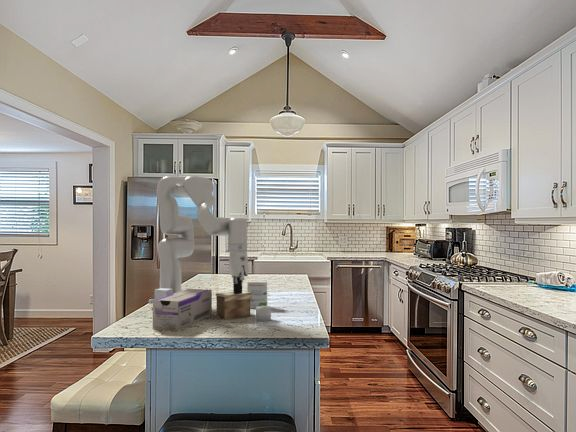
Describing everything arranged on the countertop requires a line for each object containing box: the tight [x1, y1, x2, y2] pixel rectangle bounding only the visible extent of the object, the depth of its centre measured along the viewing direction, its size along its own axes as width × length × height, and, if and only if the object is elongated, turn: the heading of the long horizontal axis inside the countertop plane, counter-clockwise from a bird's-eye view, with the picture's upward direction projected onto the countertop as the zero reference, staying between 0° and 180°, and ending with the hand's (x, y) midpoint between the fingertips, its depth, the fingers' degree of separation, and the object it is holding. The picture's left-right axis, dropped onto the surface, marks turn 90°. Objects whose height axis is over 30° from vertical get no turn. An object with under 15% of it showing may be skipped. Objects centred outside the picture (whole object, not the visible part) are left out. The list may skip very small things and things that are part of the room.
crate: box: [216, 296, 251, 321], centre depth 159 cm, size 11×10×8 cm
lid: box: [215, 290, 252, 301], centre depth 159 cm, size 12×11×2 cm
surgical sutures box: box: [152, 288, 213, 332], centre depth 149 cm, size 25×11×11 cm, turn 164°
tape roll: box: [255, 305, 272, 323], centre depth 152 cm, size 6×6×5 cm
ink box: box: [246, 280, 268, 309], centre depth 175 cm, size 9×5×12 cm, turn 83°
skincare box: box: [153, 287, 173, 299], centre depth 153 cm, size 6×4×12 cm
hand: (237, 293), depth 155 cm, fingers closed
